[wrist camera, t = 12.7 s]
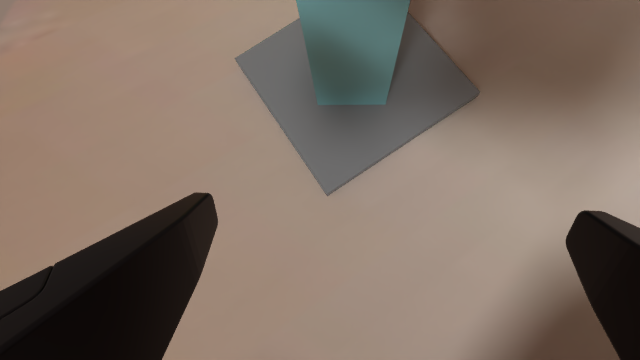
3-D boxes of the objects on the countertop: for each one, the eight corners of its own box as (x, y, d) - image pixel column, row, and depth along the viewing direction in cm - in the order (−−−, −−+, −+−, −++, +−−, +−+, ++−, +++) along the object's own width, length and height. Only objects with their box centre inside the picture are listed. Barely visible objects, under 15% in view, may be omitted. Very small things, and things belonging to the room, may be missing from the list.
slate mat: (477, 96, 22) (480, 92, 21) (327, 195, 21) (326, 194, 20) (371, -21, 24) (372, -28, 24) (237, 63, 24) (234, 58, 23)
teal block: (385, 104, 21) (415, -23, 12) (317, 104, 22) (292, -18, 12) (384, 44, 22) (412, -118, 13) (320, 46, 23) (298, -110, 13)
